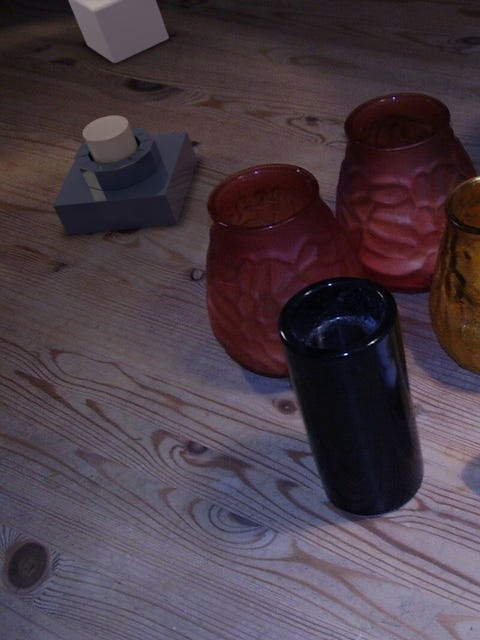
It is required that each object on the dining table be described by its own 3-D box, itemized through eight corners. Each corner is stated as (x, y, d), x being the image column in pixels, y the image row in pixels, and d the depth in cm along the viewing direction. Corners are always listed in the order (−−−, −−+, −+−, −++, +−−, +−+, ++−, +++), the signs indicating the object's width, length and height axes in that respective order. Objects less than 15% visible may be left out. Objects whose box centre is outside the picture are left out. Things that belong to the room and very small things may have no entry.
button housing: (70, 241, 90) (43, 187, 85) (98, 176, 97) (74, 123, 92) (179, 231, 89) (157, 175, 85) (199, 166, 96) (180, 112, 92)
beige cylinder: (88, 167, 88) (77, 142, 86) (99, 142, 90) (89, 117, 89) (132, 163, 87) (122, 138, 86) (142, 137, 90) (132, 113, 88)
